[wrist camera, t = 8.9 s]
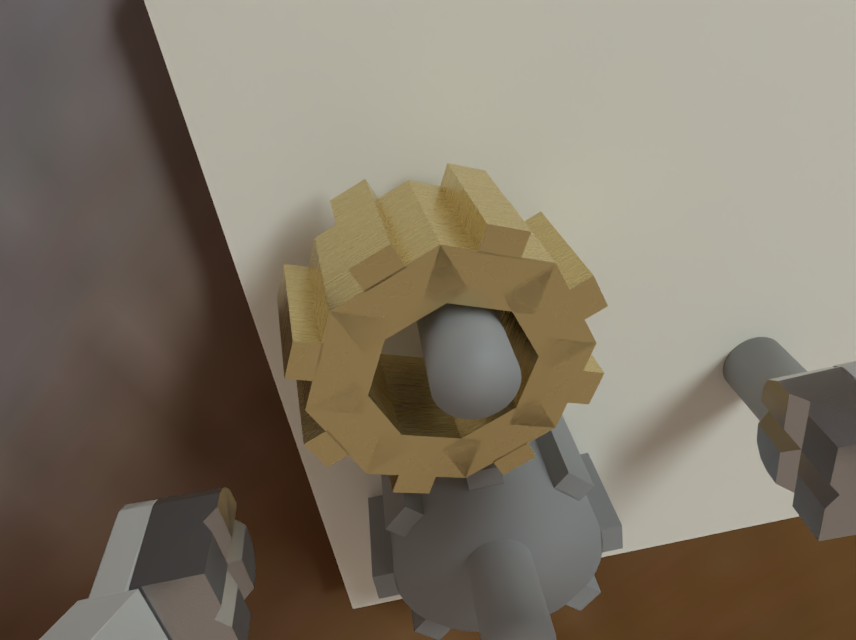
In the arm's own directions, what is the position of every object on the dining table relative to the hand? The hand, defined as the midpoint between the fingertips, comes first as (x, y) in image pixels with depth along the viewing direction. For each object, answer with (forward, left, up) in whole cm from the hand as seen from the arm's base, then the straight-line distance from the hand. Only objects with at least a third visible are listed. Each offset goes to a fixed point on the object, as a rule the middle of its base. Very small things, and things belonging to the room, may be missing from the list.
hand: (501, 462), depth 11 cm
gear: (+1, -1, -7) cm, 7 cm away
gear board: (+3, +4, -10) cm, 11 cm away
